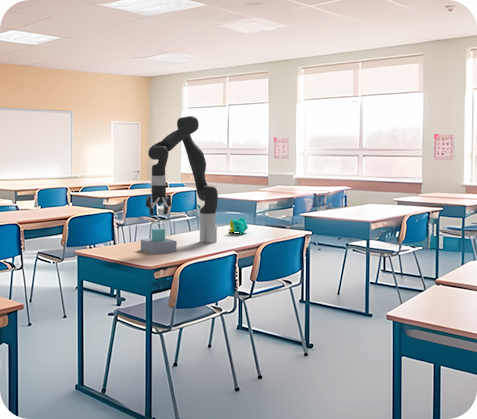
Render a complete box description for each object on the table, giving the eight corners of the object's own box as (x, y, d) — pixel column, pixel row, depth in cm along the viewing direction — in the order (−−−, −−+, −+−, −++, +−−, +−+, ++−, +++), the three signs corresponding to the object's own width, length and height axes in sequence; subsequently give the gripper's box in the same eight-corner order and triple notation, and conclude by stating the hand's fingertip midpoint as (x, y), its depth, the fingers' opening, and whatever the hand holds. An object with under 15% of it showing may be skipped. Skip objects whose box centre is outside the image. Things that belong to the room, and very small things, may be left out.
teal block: (159, 239, 288) (159, 228, 288) (164, 240, 285) (165, 229, 284) (151, 240, 285) (151, 229, 284) (157, 241, 281) (157, 230, 281)
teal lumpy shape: (221, 222, 359) (236, 212, 364) (230, 237, 360) (244, 228, 366) (231, 220, 345) (247, 210, 351) (240, 236, 347) (255, 226, 353)
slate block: (164, 248, 295) (164, 237, 294) (176, 252, 284) (176, 241, 283) (140, 250, 287) (140, 239, 286) (152, 254, 276) (152, 243, 275)
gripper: (165, 183, 289) (165, 213, 291) (143, 184, 280) (143, 215, 281) (173, 184, 284) (173, 214, 285) (151, 185, 274) (151, 216, 276)
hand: (158, 214), depth 283 cm, fingers open, 8 cm apart
